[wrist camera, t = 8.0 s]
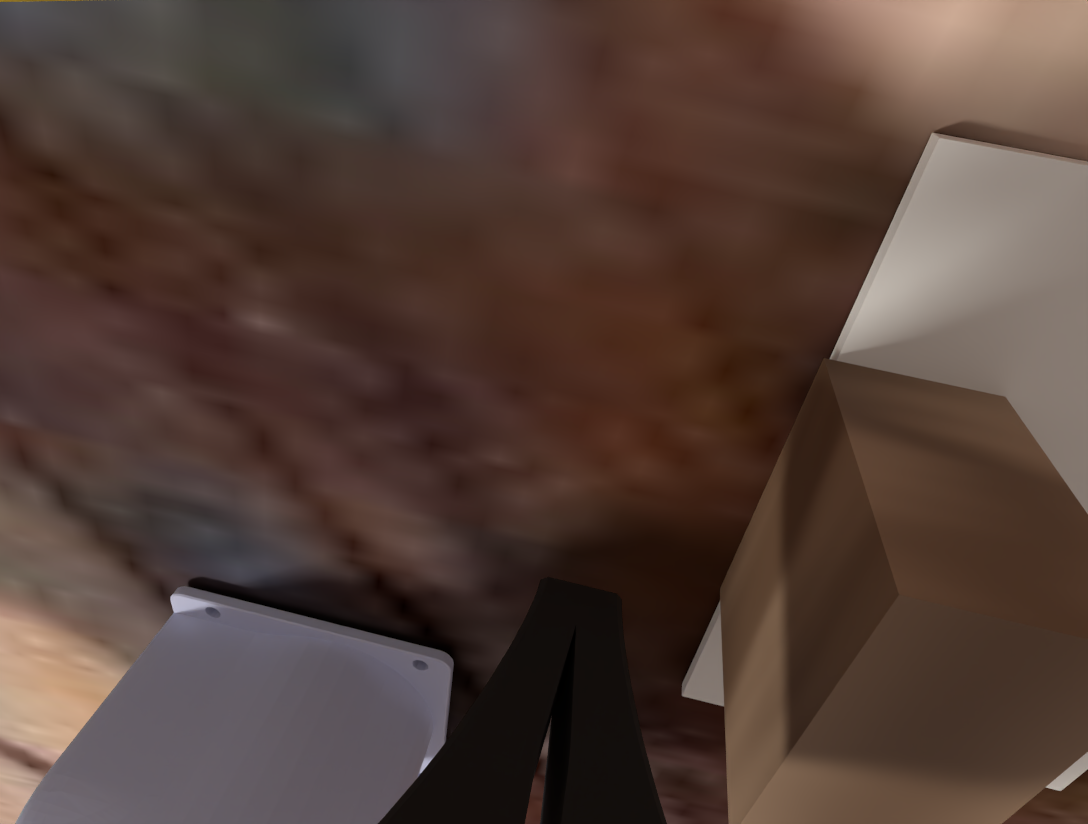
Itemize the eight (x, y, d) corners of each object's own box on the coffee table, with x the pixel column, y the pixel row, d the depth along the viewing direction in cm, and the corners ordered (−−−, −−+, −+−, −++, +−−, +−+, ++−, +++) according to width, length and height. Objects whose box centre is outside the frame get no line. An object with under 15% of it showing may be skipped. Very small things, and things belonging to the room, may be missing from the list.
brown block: (719, 589, 17) (728, 839, 12) (823, 358, 13) (899, 594, 8) (856, 622, 17) (921, 890, 12) (1005, 396, 13) (1192, 663, 8)
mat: (682, 684, 20) (681, 696, 20) (931, 132, 11) (939, 138, 11) (1054, 777, 20) (1060, 790, 19) (1659, 268, 10) (1691, 278, 10)
